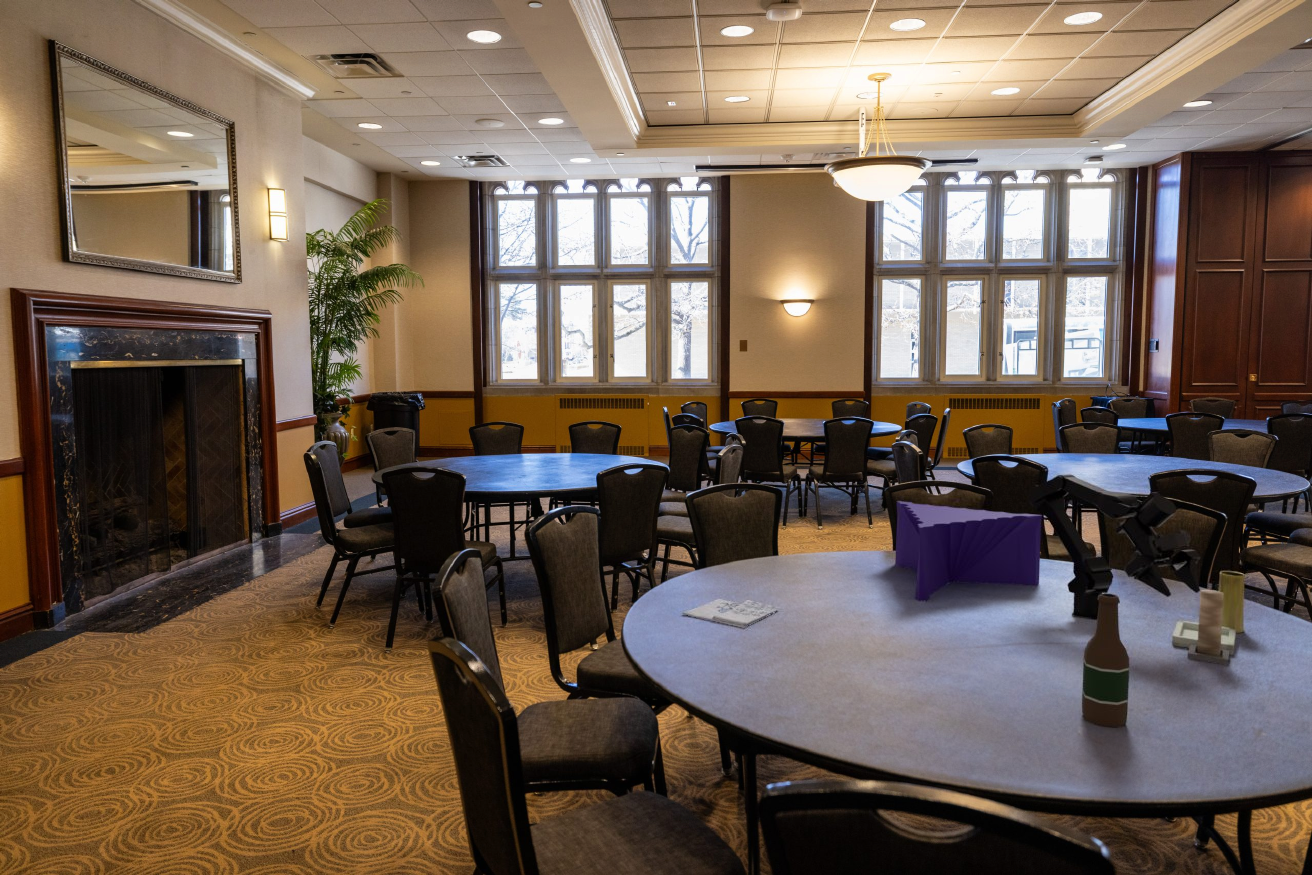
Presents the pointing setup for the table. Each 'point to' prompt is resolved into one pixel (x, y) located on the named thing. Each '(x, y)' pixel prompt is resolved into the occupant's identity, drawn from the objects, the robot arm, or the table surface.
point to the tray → (1189, 635)
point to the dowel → (1210, 622)
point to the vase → (1232, 599)
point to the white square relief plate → (732, 612)
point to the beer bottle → (1106, 669)
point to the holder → (1208, 658)
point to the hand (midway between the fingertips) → (1183, 593)
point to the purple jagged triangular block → (966, 546)
